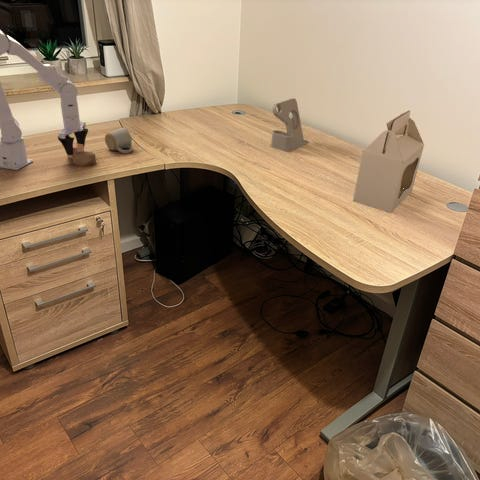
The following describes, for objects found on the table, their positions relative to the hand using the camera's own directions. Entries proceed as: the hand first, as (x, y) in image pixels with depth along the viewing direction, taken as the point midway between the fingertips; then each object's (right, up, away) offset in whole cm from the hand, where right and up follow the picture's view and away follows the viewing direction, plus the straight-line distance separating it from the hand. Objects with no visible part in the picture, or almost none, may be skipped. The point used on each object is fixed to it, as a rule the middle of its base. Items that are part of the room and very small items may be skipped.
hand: (75, 151), depth 176 cm
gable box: (+111, -18, -15) cm, 113 cm away
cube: (0, -2, +1) cm, 2 cm away
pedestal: (+4, -5, -3) cm, 7 cm away
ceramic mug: (+15, +2, +10) cm, 18 cm away
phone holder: (+83, +7, +25) cm, 87 cm away
